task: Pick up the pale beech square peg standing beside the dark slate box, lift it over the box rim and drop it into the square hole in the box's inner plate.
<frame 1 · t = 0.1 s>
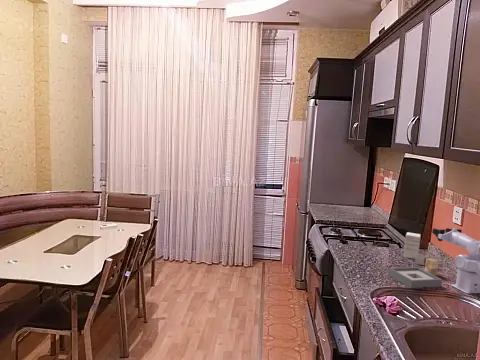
hand: (439, 230, 202), 22 cm above the worktop, tool horizontal, fingers open, 7 cm apart
peg: (430, 273, 204), on the worktop
supplement box: (410, 256, 232), on the worktop
hole box: (413, 280, 192), on the worktop
translucent grey slab: (422, 264, 218), on the worktop
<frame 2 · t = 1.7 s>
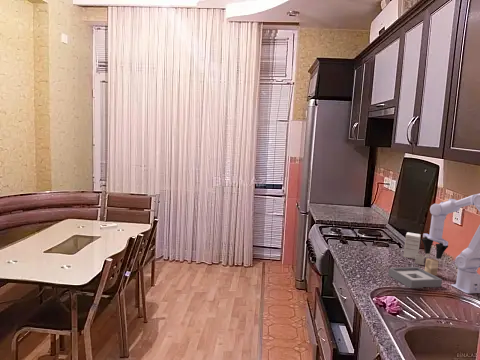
hand: (432, 255, 203), 9 cm above the worktop, tool pointing down, fingers open, 7 cm apart
nothing on the worktop moved.
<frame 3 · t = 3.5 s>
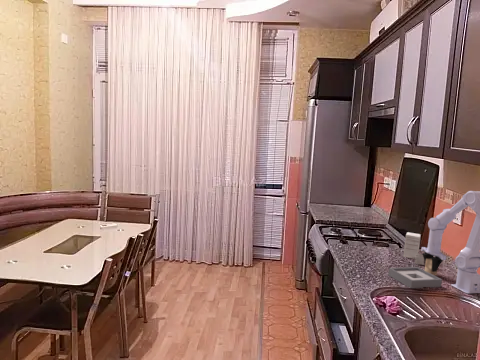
hand: (431, 269, 204), 2 cm above the worktop, tool pointing down, fingers closed on peg, 4 cm apart
peg: (430, 273, 204), on the worktop, touching gripper
everything else where it was.
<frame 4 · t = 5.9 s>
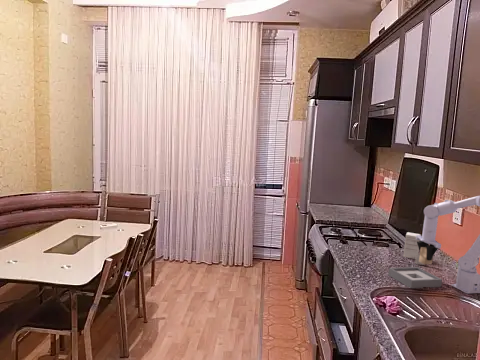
hand: (425, 258, 198), 9 cm above the worktop, tool pointing down, fingers closed on peg, 4 cm apart
peg: (425, 262, 198), point 7 cm above the worktop, touching gripper
everything else where it was.
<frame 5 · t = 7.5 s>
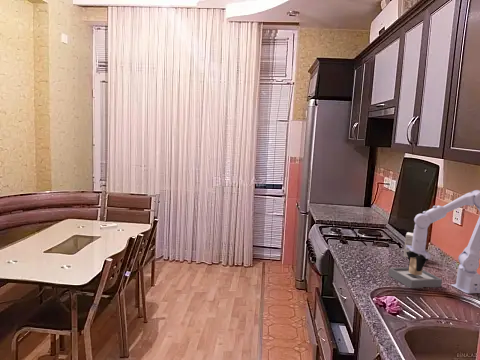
hand: (415, 269, 192), 6 cm above the worktop, tool pointing down, fingers closed on peg, 4 cm apart
peg: (415, 273, 192), point 4 cm above the worktop, touching gripper
everything else where it was.
when the fingers open (3 cm above the worktop, at t = 8.8 s): peg stays where it is, resting on hole box.
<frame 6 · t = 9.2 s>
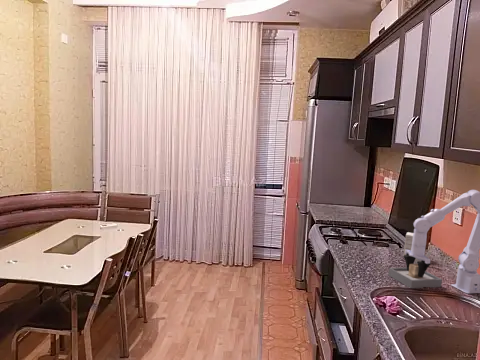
hand: (414, 273, 192), 3 cm above the worktop, tool pointing down, fingers open, 7 cm apart
peg: (414, 280, 192), resting on hole box
everything else where it was.
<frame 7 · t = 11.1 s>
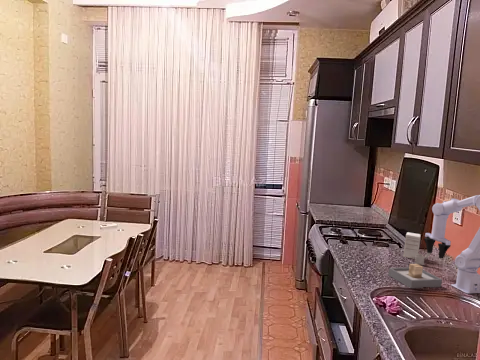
hand: (435, 255, 203), 9 cm above the worktop, tool pointing down, fingers open, 7 cm apart
nothing on the worktop moved.
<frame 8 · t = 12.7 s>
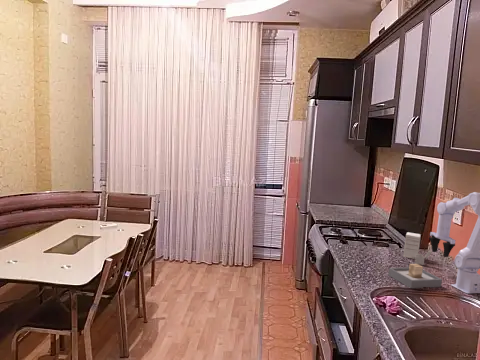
hand: (440, 254, 206), 9 cm above the worktop, tool pointing down, fingers open, 7 cm apart
nothing on the worktop moved.
at the end: peg 0.1 cm off-centre on the hole box, point 0.4 cm above the hole box's base; the gripper is holding nothing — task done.
